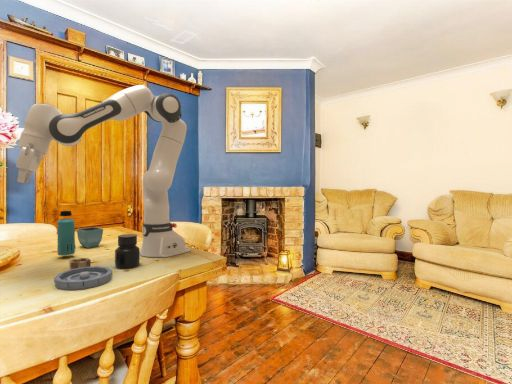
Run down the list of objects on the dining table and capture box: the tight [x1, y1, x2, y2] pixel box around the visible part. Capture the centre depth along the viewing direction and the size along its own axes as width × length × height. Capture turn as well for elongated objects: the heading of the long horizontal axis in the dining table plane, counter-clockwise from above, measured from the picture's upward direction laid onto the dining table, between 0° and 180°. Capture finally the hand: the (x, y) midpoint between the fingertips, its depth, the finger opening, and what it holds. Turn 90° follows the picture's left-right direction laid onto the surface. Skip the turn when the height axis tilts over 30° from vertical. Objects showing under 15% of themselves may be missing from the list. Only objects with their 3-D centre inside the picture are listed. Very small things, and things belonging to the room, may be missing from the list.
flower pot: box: [76, 226, 104, 249], centre depth 145 cm, size 9×9×9 cm
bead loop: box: [68, 257, 92, 270], centre depth 109 cm, size 6×6×4 cm
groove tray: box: [54, 265, 113, 291], centre depth 97 cm, size 16×16×3 cm
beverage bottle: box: [56, 210, 76, 257], centre depth 125 cm, size 6×7×20 cm
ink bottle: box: [114, 233, 141, 270], centre depth 115 cm, size 10×9×12 cm
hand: (22, 182), depth 105 cm, fingers open, 8 cm apart
